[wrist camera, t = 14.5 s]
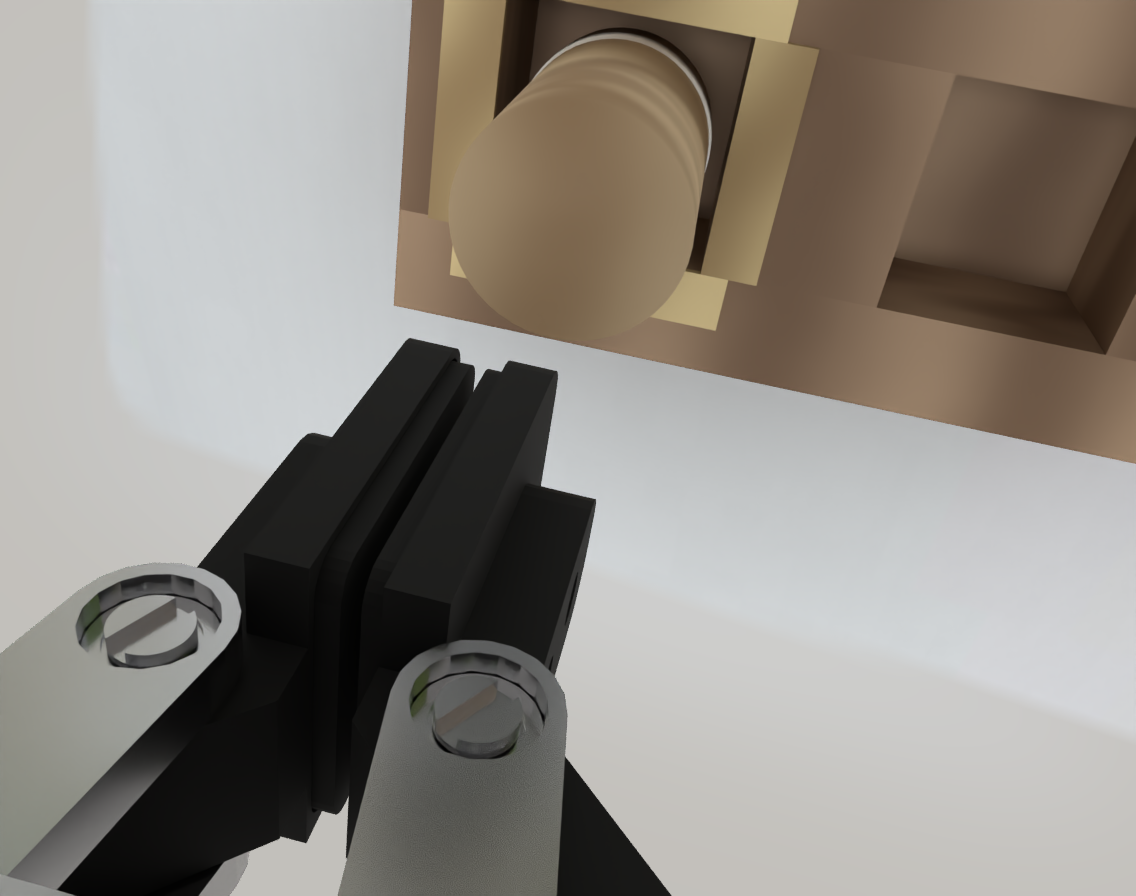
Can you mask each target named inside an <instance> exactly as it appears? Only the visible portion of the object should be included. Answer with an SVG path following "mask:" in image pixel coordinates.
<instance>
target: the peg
mask: <svg viewBox="0 0 1136 896" xmlns="http://www.w3.org/2000/svg"><path fill="white" fill-rule="evenodd" d="M711 141H712V114H711V106H710V100H709V97H708V93H707V90H706V87H705V85H704V82H703V80H702V78H701V76H700V74H699V72H698V71H697V69H696V67H695V66H694V65H693V64H692V62H691V61H690V60H689V58H688V57H687V56H686V55H685V54H684V53H683V52H682V51H681V50H680V49H679V48H677V47H676V46H675V45H673V44H672V43H671V42H669V41H667V40H666V39H664V38H662V37H660V36H658V35H656V34H653V33H651V32H648V31H644V30H640V29H636V28H626V27H617V28H607V29H602V30H598V31H595V32H592V33H589V34H586V35H584V36H582V37H580V38H579V39H577V40H575V41H574V42H572V43H571V44H569V45H567V46H566V47H565V48H563V49H562V50H560V51H559V52H557V53H556V54H555V55H554V56H553V57H552V58H551V59H550V60H549V61H548V62H547V63H546V64H545V65H544V66H543V67H542V68H541V69H540V70H539V72H538V73H537V74H536V75H535V77H534V78H533V80H532V81H531V82H530V83H529V84H528V85H527V86H526V87H525V88H524V89H523V90H522V91H521V92H520V93H519V94H518V95H517V96H516V97H515V98H514V99H513V100H512V102H511V103H510V104H509V105H508V106H507V107H506V108H505V109H504V110H503V111H502V112H501V113H500V114H499V115H498V116H497V117H496V118H495V119H494V120H493V121H492V122H491V123H490V124H489V125H488V126H487V127H486V128H485V129H484V130H483V131H482V132H481V133H480V134H479V135H478V137H477V138H476V139H475V140H474V141H473V143H472V144H471V145H470V146H469V148H468V150H467V151H466V153H465V154H464V156H463V158H462V159H461V161H460V164H459V166H458V168H457V171H456V173H455V176H454V180H453V183H452V187H451V191H450V199H449V228H450V236H451V240H452V244H453V248H454V252H455V254H456V257H457V259H458V262H459V264H460V267H461V268H462V270H463V272H464V274H465V276H466V278H467V279H468V281H469V282H470V284H471V285H472V286H473V288H474V289H475V291H476V292H477V293H478V294H479V295H480V297H481V298H482V299H483V300H484V301H485V302H486V303H487V304H488V305H489V306H490V307H491V308H492V309H494V310H495V311H496V312H497V313H498V314H500V315H501V316H502V317H504V318H505V319H507V320H508V321H510V322H511V323H513V324H515V325H517V326H519V327H521V328H523V329H525V330H527V331H530V332H532V333H535V334H538V335H541V336H545V337H549V338H553V339H559V340H567V341H588V340H596V339H602V338H606V337H610V336H614V335H617V334H619V333H622V332H624V331H627V330H629V329H631V328H633V327H635V326H637V325H638V324H640V323H642V322H643V321H645V320H646V319H647V318H649V317H650V316H652V315H653V314H654V313H655V312H656V311H657V310H658V309H659V308H660V307H661V306H663V305H664V304H665V302H666V301H667V300H668V299H669V297H670V296H671V295H672V294H673V292H674V291H675V289H676V288H677V286H678V284H679V283H680V281H681V279H682V277H683V275H684V273H685V270H686V268H687V266H688V263H689V259H690V256H691V252H692V248H693V242H694V236H695V229H696V223H697V217H698V211H699V204H700V198H701V192H702V186H703V179H704V173H705V171H706V168H707V164H708V160H709V156H710V149H711Z"/></svg>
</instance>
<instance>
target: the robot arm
mask: <svg viewBox="0 0 1136 896" xmlns="http://www.w3.org/2000/svg"><path fill="white" fill-rule="evenodd" d="M474 380H475V368H474V366H473V365H468V364H464V363H460V352H459V350H458V349H456V348H452V347H447V346H443V345H438V344H434V343H429V342H425V341H421V340H416V339H411V338H409V339H408V340H407V341H405V343H404V344H403V345H402V347H401V348H400V349H399V351H398V352H397V353H396V354H395V356H394V357H393V358H392V360H391V361H390V362H389V364H388V365H387V366H386V368H385V369H384V370H383V371H382V373H381V374H380V375H379V377H378V378H377V379H376V381H375V382H374V383H373V384H372V386H371V387H370V388H369V390H368V391H367V392H366V394H365V395H364V396H363V398H362V399H361V400H360V401H359V403H358V404H357V405H356V407H355V408H354V409H353V411H352V412H351V413H350V415H349V416H348V417H347V418H346V420H345V421H344V422H343V424H342V425H341V426H340V428H339V429H338V430H337V431H336V433H335V434H334V435H333V437H329V436H325V435H321V434H316V433H311V434H307V435H306V436H305V437H304V438H302V439H301V440H300V441H299V443H298V444H297V445H296V446H295V447H294V449H293V450H292V451H291V452H290V454H289V455H288V456H287V457H286V458H285V460H284V461H283V462H282V463H281V465H280V466H279V467H278V468H277V470H276V471H275V472H274V473H273V474H272V476H271V477H270V478H269V479H268V481H267V482H266V483H265V484H264V486H263V487H262V488H261V489H260V490H259V492H258V493H257V494H256V495H255V497H254V498H253V499H252V500H251V502H250V503H249V504H248V505H247V506H246V508H245V509H244V510H243V511H242V513H241V514H240V515H239V516H238V518H237V519H236V520H235V521H234V523H233V524H232V525H231V526H230V527H229V529H228V530H227V531H226V532H225V533H224V535H223V536H222V537H221V538H220V540H219V541H218V542H217V543H216V545H215V546H214V547H213V548H212V549H211V551H210V552H209V553H208V554H207V556H206V557H205V558H204V559H203V561H202V562H201V563H200V564H199V566H198V567H193V566H189V565H185V564H178V563H149V564H143V565H137V566H131V567H126V568H123V569H120V570H117V571H115V572H112V573H109V574H106V575H104V576H101V577H99V578H97V579H96V580H94V581H93V582H91V583H90V584H88V585H86V586H85V587H83V588H82V589H80V590H78V591H77V592H76V593H75V594H73V595H72V596H71V597H70V598H68V599H67V600H66V601H65V602H63V603H62V604H61V605H60V606H59V607H57V608H56V609H55V610H54V611H52V612H51V613H50V614H49V615H47V616H46V617H45V618H44V619H43V620H41V621H40V622H39V623H37V624H36V625H35V626H34V627H33V628H31V629H30V630H29V631H28V632H26V633H25V634H24V635H23V636H22V637H20V638H19V639H18V640H16V641H15V642H14V643H13V644H12V645H10V646H9V647H8V648H7V649H5V650H4V651H3V652H2V653H0V896H229V895H230V894H231V893H232V891H233V890H234V888H235V887H236V886H237V884H238V882H239V880H240V878H241V876H242V875H243V873H244V871H245V869H246V867H247V864H248V857H249V851H251V850H254V849H256V848H258V847H261V846H263V845H266V844H268V843H270V842H273V841H275V840H277V839H279V838H280V836H281V837H285V838H289V839H293V840H296V841H300V842H304V843H306V842H307V841H308V839H309V836H310V835H311V832H312V830H313V828H314V826H315V824H316V822H317V820H318V818H319V816H320V814H321V812H322V811H325V812H328V813H332V814H338V813H339V812H340V811H341V810H342V808H343V806H344V804H345V802H346V800H347V798H348V796H349V802H348V826H347V846H346V858H347V861H346V865H345V870H344V873H343V877H342V881H341V885H340V889H339V892H338V896H671V894H670V893H669V892H668V891H667V889H666V888H665V887H664V885H663V884H662V883H661V881H660V880H659V879H658V877H657V876H656V875H655V874H654V872H653V871H652V870H651V869H650V867H649V866H648V864H647V863H646V862H645V861H644V859H643V858H642V857H641V855H640V854H639V853H638V851H637V850H636V849H635V847H634V846H633V845H632V843H630V841H629V839H628V838H627V837H626V836H625V834H624V833H623V832H622V830H621V829H620V828H619V826H618V825H617V824H616V822H615V821H614V820H613V818H612V817H611V816H610V815H609V813H608V812H607V811H606V809H605V808H604V807H603V805H602V804H601V803H600V802H599V800H598V799H597V798H596V796H595V795H594V794H593V792H592V791H591V790H590V788H589V787H588V786H587V784H586V783H585V782H584V781H583V779H582V778H581V777H580V775H579V774H578V773H577V771H576V770H575V769H574V768H573V766H572V765H571V764H570V762H569V761H568V760H567V759H566V757H565V748H566V730H567V709H566V701H565V694H564V692H563V691H562V689H561V687H560V685H559V684H558V682H557V680H556V678H555V673H556V669H557V666H558V662H559V659H560V656H561V652H562V649H563V645H564V642H565V638H566V635H567V631H568V628H569V624H570V620H571V617H572V613H573V609H574V605H575V601H576V597H577V593H578V588H579V585H580V580H581V575H582V571H583V567H584V562H585V558H586V553H587V548H588V543H589V538H590V533H591V528H592V523H593V518H594V512H595V506H596V499H592V498H587V497H583V496H579V495H575V494H571V493H566V492H562V491H558V490H554V489H549V488H545V487H541V481H542V475H543V469H544V463H545V456H546V450H547V444H548V438H549V432H550V426H551V419H552V413H553V407H554V401H555V395H556V388H557V380H558V373H557V371H553V370H549V369H545V368H540V367H536V366H531V365H527V364H522V363H518V362H514V361H508V362H507V364H506V365H505V367H504V369H503V371H502V372H499V371H495V370H491V369H487V370H486V371H485V373H484V374H483V376H482V378H481V380H480V381H479V383H478V385H477V386H476V388H475V390H474V392H473V389H474Z"/></svg>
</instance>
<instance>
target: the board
mask: <svg viewBox="0 0 1136 896" xmlns="http://www.w3.org/2000/svg"><path fill="white" fill-rule="evenodd" d="M617 27H626V28H636V29H640V30H644V31H648V32H651V33H653V34H656V35H658V36H660V37H662V38H664V39H666V40H667V41H669V42H671V43H672V44H673V45H675V46H676V47H677V48H679V49H680V50H681V51H682V52H683V53H684V54H685V55H686V56H687V57H688V58H689V60H690V61H691V62H692V64H693V65H694V66H695V67H696V69H697V71H698V72H699V74H700V76H701V78H702V80H703V82H704V85H705V87H706V90H707V93H708V97H709V100H710V106H711V114H712V141H711V149H710V156H709V160H708V164H707V168H706V171H705V173H704V179H703V186H702V192H701V198H700V204H699V211H698V217H697V223H696V229H695V236H694V242H693V248H692V252H691V256H690V259H689V263H688V266H687V268H686V270H685V273H684V275H683V277H682V279H681V281H680V283H679V284H678V286H677V288H676V289H675V291H674V292H673V294H672V295H671V296H670V297H669V299H668V300H667V301H666V302H665V304H664V305H663V306H661V307H660V308H659V309H658V310H657V311H656V312H655V313H654V314H653V315H652V316H650V317H649V318H647V319H646V320H645V321H643V322H642V323H640V324H638V325H637V326H635V327H633V328H631V329H629V330H627V331H624V332H622V333H619V334H617V335H614V336H610V337H606V338H602V339H596V340H588V341H567V340H559V339H554V340H558V341H563V342H568V343H572V344H577V345H582V346H586V347H591V348H596V349H600V350H605V351H610V352H615V353H619V354H624V355H629V356H633V357H638V358H643V359H647V360H652V361H657V362H661V363H666V364H671V365H675V366H680V367H685V368H690V369H694V370H699V371H704V372H708V373H713V374H718V375H722V376H727V377H732V378H736V379H741V380H746V381H750V382H755V383H760V384H765V385H769V386H774V387H779V388H783V389H788V390H793V391H797V392H802V393H807V394H811V395H816V396H821V397H826V398H830V399H835V400H840V401H844V402H849V403H854V404H858V405H863V406H868V407H872V408H877V409H882V410H886V411H891V412H896V413H901V414H905V415H910V416H915V417H919V418H924V419H929V420H933V421H938V422H943V423H947V424H952V425H957V426H961V427H966V428H971V429H976V430H980V431H985V432H990V433H994V434H999V435H1004V436H1008V437H1013V438H1018V439H1022V440H1027V441H1032V442H1036V443H1041V444H1046V445H1051V446H1055V447H1060V448H1065V449H1069V450H1074V451H1079V452H1083V453H1088V454H1093V455H1097V456H1102V457H1107V458H1111V459H1116V460H1121V461H1126V462H1130V463H1135V464H1136V0H412V15H411V31H410V47H409V64H408V80H407V97H406V113H405V130H404V146H403V163H402V179H401V195H400V212H399V228H398V245H397V261H396V278H395V294H394V306H399V307H404V308H408V309H413V310H418V311H422V312H427V313H432V314H436V315H441V316H446V317H450V318H455V319H460V320H465V321H469V322H474V323H479V324H483V325H488V326H493V327H497V328H502V329H507V330H511V331H516V332H521V333H525V334H530V335H535V336H540V337H544V338H549V337H545V336H541V335H538V334H535V333H532V332H530V331H527V330H525V329H523V328H521V327H519V326H517V325H515V324H513V323H511V322H510V321H508V320H507V319H505V318H504V317H502V316H501V315H500V314H498V313H497V312H496V311H495V310H494V309H492V308H491V307H490V306H489V305H488V304H487V303H486V302H485V301H484V300H483V299H482V298H481V297H480V295H479V294H478V293H477V292H476V291H475V289H474V288H473V286H472V285H471V284H470V282H469V281H468V279H467V278H466V276H465V274H464V272H463V270H462V268H461V267H460V264H459V262H458V259H457V257H456V254H455V252H454V248H453V244H452V240H451V236H450V228H449V199H450V191H451V187H452V183H453V180H454V176H455V173H456V171H457V168H458V166H459V164H460V161H461V159H462V158H463V156H464V154H465V153H466V151H467V150H468V148H469V146H470V145H471V144H472V143H473V141H474V140H475V139H476V138H477V137H478V135H479V134H480V133H481V132H482V131H483V130H484V129H485V128H486V127H487V126H488V125H489V124H490V123H491V122H492V121H493V120H494V119H495V118H496V117H497V116H498V115H499V114H500V113H501V112H502V111H503V110H504V109H505V108H506V107H507V106H508V105H509V104H510V103H511V102H512V100H513V99H514V98H515V97H516V96H517V95H518V94H519V93H520V92H521V91H522V90H523V89H524V88H525V87H526V86H527V85H528V84H529V83H530V82H531V81H532V80H533V78H534V77H535V75H536V74H537V73H538V72H539V70H540V69H541V68H542V67H543V66H544V65H545V64H546V63H547V62H548V61H549V60H550V59H551V58H552V57H553V56H554V55H555V54H556V53H557V52H559V51H560V50H562V49H563V48H565V47H566V46H567V45H569V44H571V43H572V42H574V41H575V40H577V39H579V38H580V37H582V36H584V35H586V34H589V33H592V32H595V31H598V30H602V29H607V28H617ZM549 339H553V338H549Z"/></svg>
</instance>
